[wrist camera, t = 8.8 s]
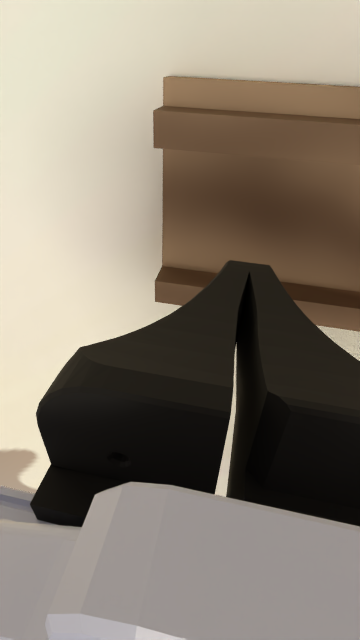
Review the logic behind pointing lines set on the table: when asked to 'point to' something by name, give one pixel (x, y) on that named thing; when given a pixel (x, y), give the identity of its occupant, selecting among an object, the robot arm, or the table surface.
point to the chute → (262, 189)
